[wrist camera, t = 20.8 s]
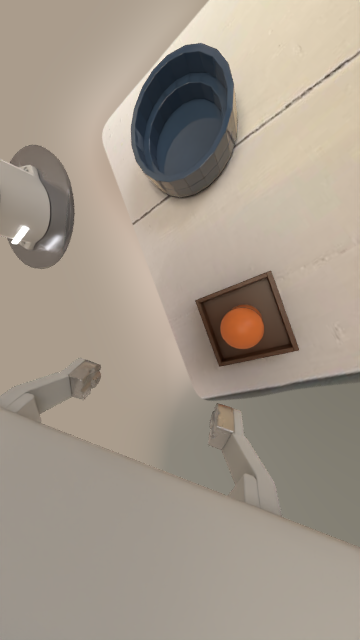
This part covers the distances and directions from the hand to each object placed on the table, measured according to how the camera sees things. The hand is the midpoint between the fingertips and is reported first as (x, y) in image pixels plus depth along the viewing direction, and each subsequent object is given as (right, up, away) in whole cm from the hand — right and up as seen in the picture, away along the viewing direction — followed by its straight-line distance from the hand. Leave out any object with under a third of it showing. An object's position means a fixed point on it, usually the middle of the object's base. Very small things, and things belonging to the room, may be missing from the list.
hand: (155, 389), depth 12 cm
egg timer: (+11, +4, +16) cm, 20 cm away
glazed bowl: (+3, +31, +15) cm, 35 cm away
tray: (+12, +5, +16) cm, 20 cm away
